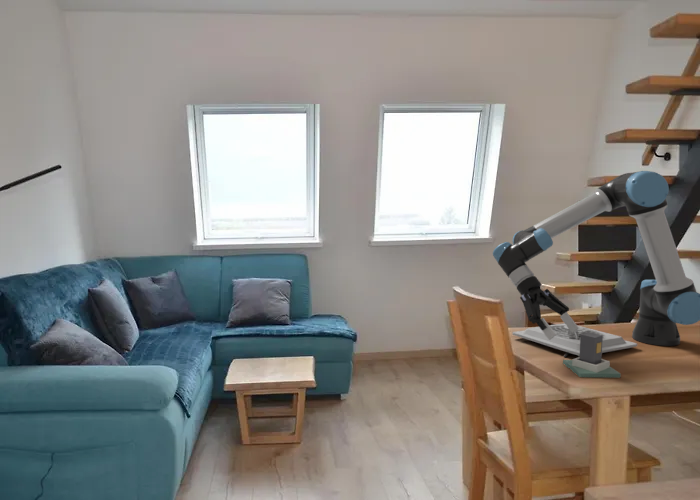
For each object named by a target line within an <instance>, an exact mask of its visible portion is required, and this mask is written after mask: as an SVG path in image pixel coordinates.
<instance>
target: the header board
mask: <svg viewBox="0 0 700 500" xmlns="http://www.w3.org/2000/svg"><path fill="white" fill-rule="evenodd" d="M579 358H580V356H578V357H576V358H573V359H563V360H562V365H564V364H565V365H566V366H565V365H564V366H565V367H566V368H567V369H569V368H570V369H571V370H572V371H571V370H570V369H569V370H570V371H571V372H573V373H574V374H575V373H576V374H577V375H578V377H579V378H609V379H610V378H611V379H612V378H615V379H617V378H618V379H619V378H620V379H621V375H622V374H621V372H619V371H617V370H616V369H615V368H613V367H611V366H610V360H606V359H603V358H601V363H599V364H597V365H594V364H591V363H587V362H584V361H580V360H579ZM576 374H575V375H576ZM577 375H576V376H577Z"/></svg>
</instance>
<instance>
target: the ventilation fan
mask: <svg viewBox="0 0 700 500" xmlns="http://www.w3.org/2000/svg"><path fill="white" fill-rule="evenodd" d="M548 325H549V324H548ZM576 325H577V326H578V327H579V329H578V330H576V331H575V332H574V333H572V332H571V331H570V329H569V328H568V327H567V325H566V324H565V323H564V322H563V323H556V324H551V325H549V326H550V327H551V329H552V330H553V331H554V333H555V334H556V336H554V337H553V338H552V339H550V340H549V339H548V338H547V337H546V335H545V334H544V332H543V331H542V330H541V329H540V327H539V326H535V327H527V328H526V329H524V330H517V331H512V336H516V337H519V338H522V339H524V340H528V341H530V342H531V341H532V342H535V343H537V344H541V345H543V346H546V347H550V348H553V349H555V350H560V351H563V352H565V353H566V352H568V353H569V354H572V355H576V356H578V357H580V339H581V334H584V333H587V332H590V333H595V334H599V335H603V341H602V354H603V353H608V352H615V351H620V350H625V349H630V348H635V347H638V343H637V342H632V341H630V340H625V338H623V337H622V336H621V335H617V334H612V333H608V332H604V331H602V330H601V331H600V330H597V329H592V328H589V327H584V326H581V325H578V324H576Z"/></svg>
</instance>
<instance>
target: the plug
mask: <svg viewBox="0 0 700 500" xmlns="http://www.w3.org/2000/svg"><path fill="white" fill-rule="evenodd" d="M580 337H581V339H580V356H579V357H580V358H579V360H580V361H584V362H587V363H591V364H594V365H597V364H599V363H601V359H603V357H602V355H603V353H602V341H603V335H599V334H595V333H590V332H587V333H584V334H581V336H580Z"/></svg>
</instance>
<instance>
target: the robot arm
mask: <svg viewBox="0 0 700 500" xmlns="http://www.w3.org/2000/svg"><path fill="white" fill-rule="evenodd" d="M669 191H670V188H669V184H668V181H667V179H666V178H665V177H664V176H663V175H662V174H660V173H658V172H656V171H651V170H640V171H634V172H626V173H623V174H620V175H618V176H617V177H615V178H613V179H611V180H610V181H608V182H606V183H605V184H602V185H601V186H599V187H598V188H596V189H594V193H592V194H589V195H588V196H586V197H585V198H582V199H581V200H579V201H577V202H575V203H573V204H571V205H570V206H567V207H566V208H564V209H562V210H560V211H558V212H556V213H554V214H552V215H550V216H548V217H547V218H545V219H543V220H541V221H539V222H537V223H535V224H534V225H532V226H530V227H528V228H526V229H524V230H519V231H517V232H515V233H514V235H513V237H512V243H510V242H509V241H505V242H503V243H500V244H499V245H497V246H496V247H495V248H494V249H493V251H492V256H493V258H494V259H495V261H496V262H497V264H498V265H499V267H500V268H501V269H502V271H503V272H504V273H505V275H506V276H507V277H508V278H509V280H510V281H511V283H512V284H513V286H514V287H516V290H517V291H518V293H519V294H520V297H519V298H520V301H521V302H522V305H523V307H524V310H525V312H526V316H527V319H528V322H531V323H532V324H534V325H535V324H536V325H537V327H540V329H541V330H542V331H543V332H544V334H545V335H546V337H547V338H548V339H549V340H550V339H552V338H553V337H554V336H556V334H555V333H554V331H553V330H552V329H551V327H550V326H549V323H548V322H547V321H546V319H545V318H544V317H542V313H541V307H540V306H543V307H544V306H546V307H547V308H549V309H550V310H552V311H553V312H555V313H557V314H558V315H560V316H559V317H560V319H561V320H562V322H563V323H565V324H566V325H567V327H568V328H569V329H570V331H571V332H572V333H574V332H575V331H576V330H578V329H579V327H578V326H579V325H578V324H577V323H576V322H575V321H574V319H573V318H572V317H571V316H570V314H568V313H569V311H570V308H569V306H568V305H566V304H565V303H563V301H562V300H560V299H559V298H557V297H556V296H555V295H554V294H553V293H552V292H551V291H550V290H549V289H548V288H546V289H544V290H542V288H541V286H542V283H541V281H540V280H539V279H538V278H537V277H536V276H535V274H534V272H533V271H532V270H531V269H530V267H529V266H528V265H527V262H529V261H531V260H532V259H533V258H535V257H536V256H539V255H540V254H542V253H543V252H546V251H547V250H548V249H550V248H551V247H552V246H553V245H554V241H553V238H556V237H557V236H560V235H561V234H563V233H565V232H567V231H569V230H571V229H573V228H575V227H578V226H579V225H580V224H583V223H584V222H586V221H589V220H590V219H592V218H594V217H596V216H598V215H600V214H602V213H604V212H612V211H613V210H616V209H619V208H622V207H625V208H626V212H627V213H628V216H629V217H631V218H634V219H635V222H636V224H637V227H638V230H639V233H640V237H641V239H642V242H643V245H644V248H645V251H646V254H647V258H648V260H649V263H650V265H651V269H652V271H653V276H654V278H655V279H644V280H642V281H641V284H640V288H639V290H640V295H639V310H638V318H637V319H638V320H637V322H636V323H635V326H634V328H633V331H632V335H631V337H632V339H633V340H635V341H637V342H641V343H644V344H648V345H654V346H663V347H673V346H678V345H680V344H681V335H680V331H679V329H678V325H677V324H680V325H685V326H689V325H693V324H696V323H699V321H700V293H699V292H697V289H696V286H695V283H694V281H693V279H691V278H689V277H687V276H686V273H685V271H684V267H683V265H682V262H681V259H680V255H679V252H678V249H677V246H676V243H675V241H674V237H673V233H672V231H671V228H670V224H669V222H668V219H667V216H666V214H665V213H666V212H665V210H666V209H667V208H668V202H667V196H668V195H669ZM577 325H578V326H577Z"/></svg>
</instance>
